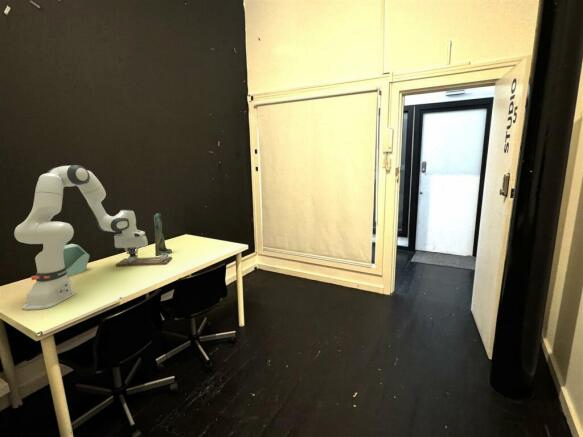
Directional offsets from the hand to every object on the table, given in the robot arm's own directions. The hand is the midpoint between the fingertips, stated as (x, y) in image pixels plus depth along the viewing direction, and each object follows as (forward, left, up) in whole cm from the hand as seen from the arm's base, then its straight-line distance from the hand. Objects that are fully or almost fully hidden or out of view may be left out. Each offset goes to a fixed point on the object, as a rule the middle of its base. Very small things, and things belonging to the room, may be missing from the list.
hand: (132, 253), depth 203 cm
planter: (-15, +31, -7) cm, 35 cm away
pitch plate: (0, -7, -7) cm, 10 cm away
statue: (+19, -13, -7) cm, 24 cm away
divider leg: (-1, 0, -5) cm, 5 cm away
